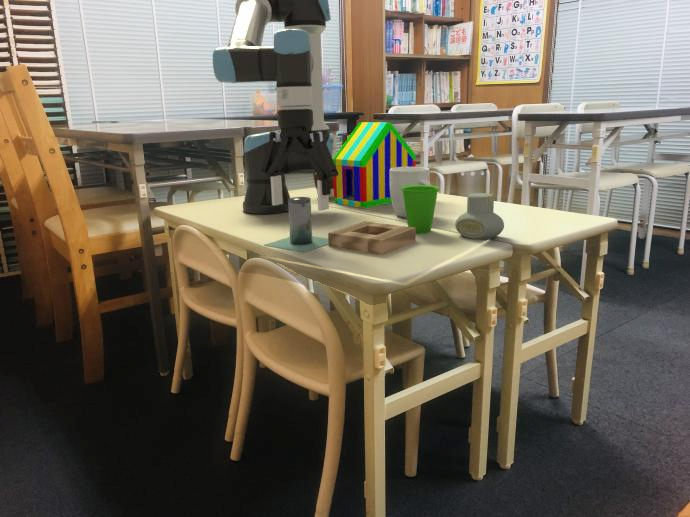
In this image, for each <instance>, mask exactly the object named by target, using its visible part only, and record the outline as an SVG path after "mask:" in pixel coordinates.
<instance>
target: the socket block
mask: <svg viewBox="0 0 690 517" xmlns="http://www.w3.org/2000/svg"><path fill="white" fill-rule="evenodd" d="M416 234H417V233H416V228H414V227H408V226H406V225H397V224H389V223H382V222H381V223H380V222H374V221H361V222H358V223H354V224H351V225H348V226H345V227H342V228H339V229H336V230H333V231H329V232H327V236H328V237H327V239H328V245H327V246H328V247H332V248H339V249H343V250H349V251H356V252H360V253H361V252H362V253H368V254H373V255H374V254H375V255H381V256H383V255H385V254H388V253H390V252H393V251H395V250H397V249H400V248H402V247H404V246H407V245H409V244H411V243H412V244H413V242H416V240H417V239H416V238H417V236H416Z"/></svg>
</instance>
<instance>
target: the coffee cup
mask: <svg viewBox="0 0 690 517" xmlns="http://www.w3.org/2000/svg"><path fill="white" fill-rule="evenodd" d="M334 163H335V162H334ZM312 176H313V181H314V186H315V189H316V193H317V194H316V195H317V196H318V190H317V180H318V179H319V178H320V177H319V176H318V174H316V175H315V174H312ZM330 186H331V187H330V188H331V193H330V194H329V195H328V198H329V199H334V178H331V180H330Z"/></svg>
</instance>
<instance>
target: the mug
mask: <svg viewBox="0 0 690 517" xmlns="http://www.w3.org/2000/svg"><path fill="white" fill-rule="evenodd" d="M430 172H431V170H430V168H429V167H423V166H416V167H396V168H391V169H390V196H391V201H392V202H391V205H392V208H393V210H394V212H395V215H397V216H398V217H400V218H404V219H405V218H406V219H407V217H406V210H405V203H404V197H403V190H401V188H402V187H405V186H412V185H430V186H433V185H432V184H431V180H430V177H431V176H430V175H431V174H430Z"/></svg>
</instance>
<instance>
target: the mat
mask: <svg viewBox="0 0 690 517" xmlns="http://www.w3.org/2000/svg"><path fill="white" fill-rule="evenodd" d="M263 246H264V247H265V246H266V247H271V248H277V249H282V250H287V251H293V252H299V253H307V252H311V251H314V250H316V249H320V248H322V247H326V246H329V245H328V237H327V238H326V237H320V236H313V235H312V243H311V244H307V245H293V244H291V243H290V236H289V237H286V238H282V239H279V240H275V241H272V242H269V243H265V244H263Z"/></svg>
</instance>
